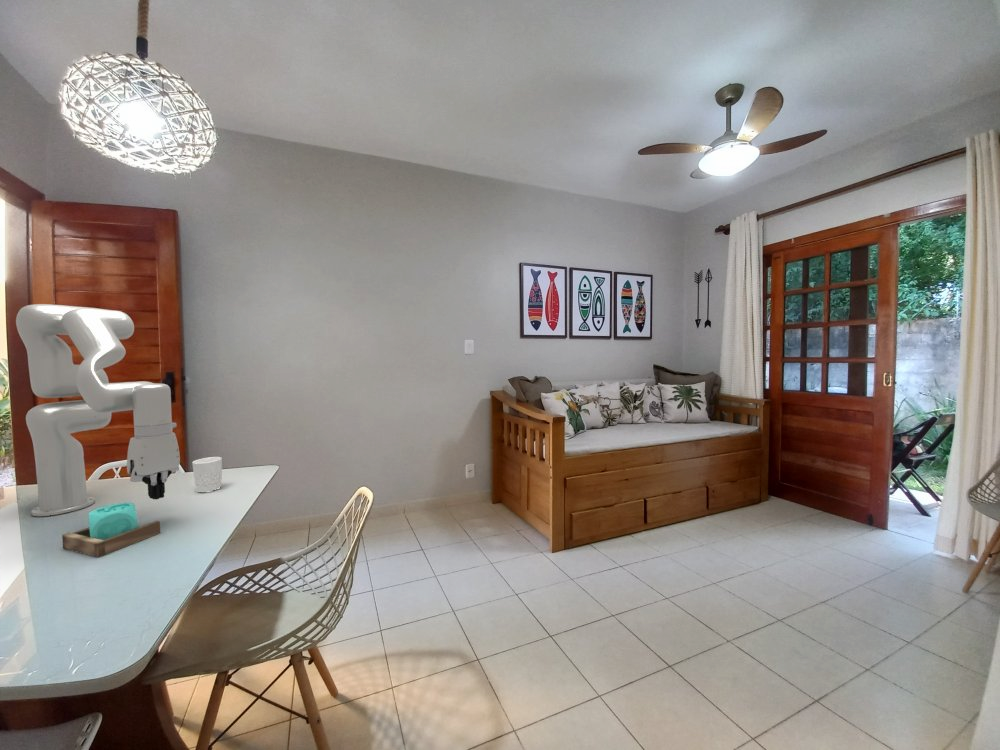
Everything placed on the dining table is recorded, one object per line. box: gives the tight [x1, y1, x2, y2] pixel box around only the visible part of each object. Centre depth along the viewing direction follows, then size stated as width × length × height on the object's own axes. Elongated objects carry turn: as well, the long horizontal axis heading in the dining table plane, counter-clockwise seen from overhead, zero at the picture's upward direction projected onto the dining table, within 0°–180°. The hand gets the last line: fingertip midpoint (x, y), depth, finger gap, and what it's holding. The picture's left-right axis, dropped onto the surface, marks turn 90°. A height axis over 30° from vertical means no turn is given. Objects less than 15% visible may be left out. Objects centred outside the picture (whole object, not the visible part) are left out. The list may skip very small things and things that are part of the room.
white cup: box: [191, 456, 223, 493], centre depth 130 cm, size 8×8×10 cm
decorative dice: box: [87, 502, 139, 540], centre depth 95 cm, size 8×8×8 cm
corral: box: [61, 520, 162, 558], centre depth 95 cm, size 13×12×3 cm
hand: (156, 497), depth 105 cm, fingers closed
